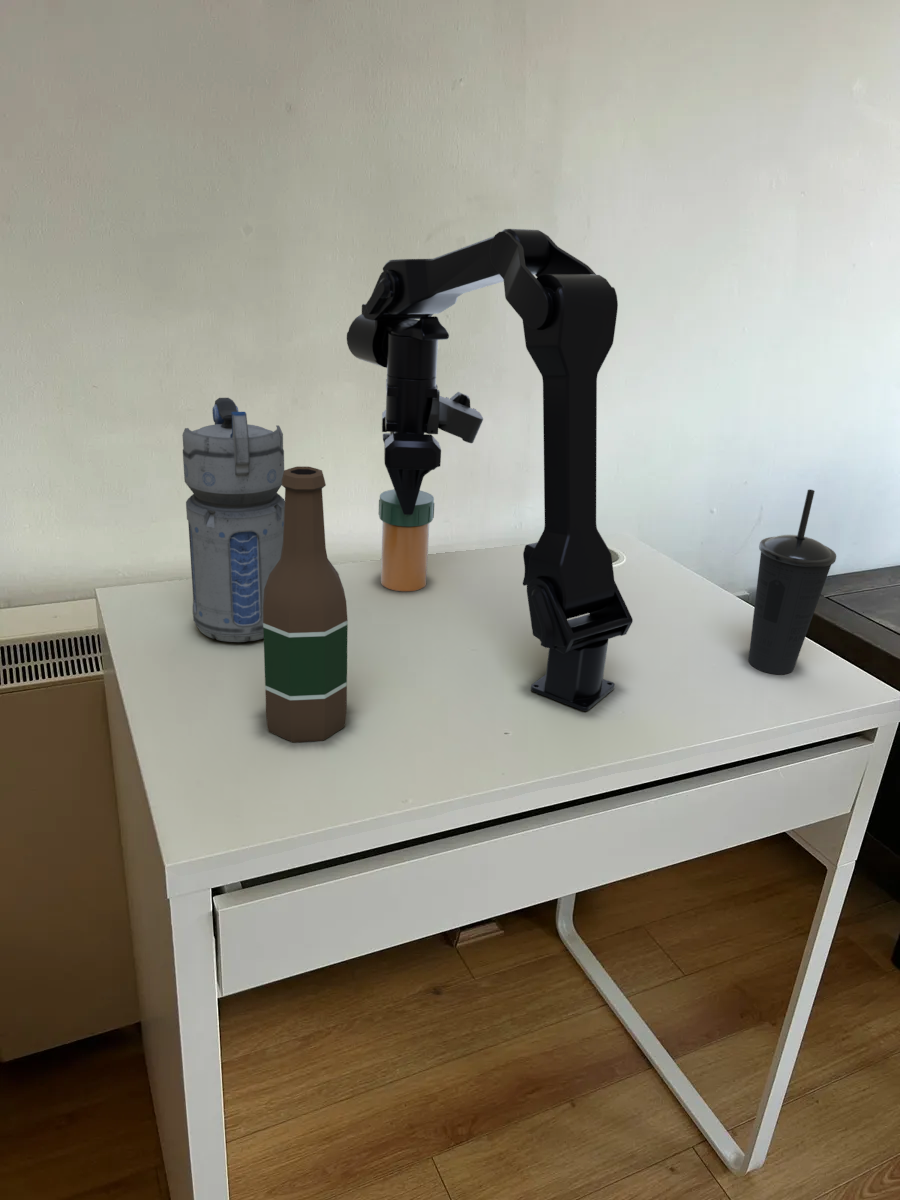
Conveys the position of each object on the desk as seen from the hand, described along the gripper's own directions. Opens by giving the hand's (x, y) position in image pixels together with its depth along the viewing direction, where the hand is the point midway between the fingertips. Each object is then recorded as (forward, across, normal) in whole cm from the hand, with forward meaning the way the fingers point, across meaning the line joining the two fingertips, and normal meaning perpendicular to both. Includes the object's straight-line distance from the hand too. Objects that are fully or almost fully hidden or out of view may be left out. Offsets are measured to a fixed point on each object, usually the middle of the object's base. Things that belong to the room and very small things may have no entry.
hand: (406, 504), depth 110 cm
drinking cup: (+11, -21, -40) cm, 46 cm away
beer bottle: (+11, -33, +10) cm, 36 cm away
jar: (+10, 0, 0) cm, 10 cm away
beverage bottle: (+11, -13, +19) cm, 25 cm away
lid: (0, 0, 0) cm, 0 cm away
